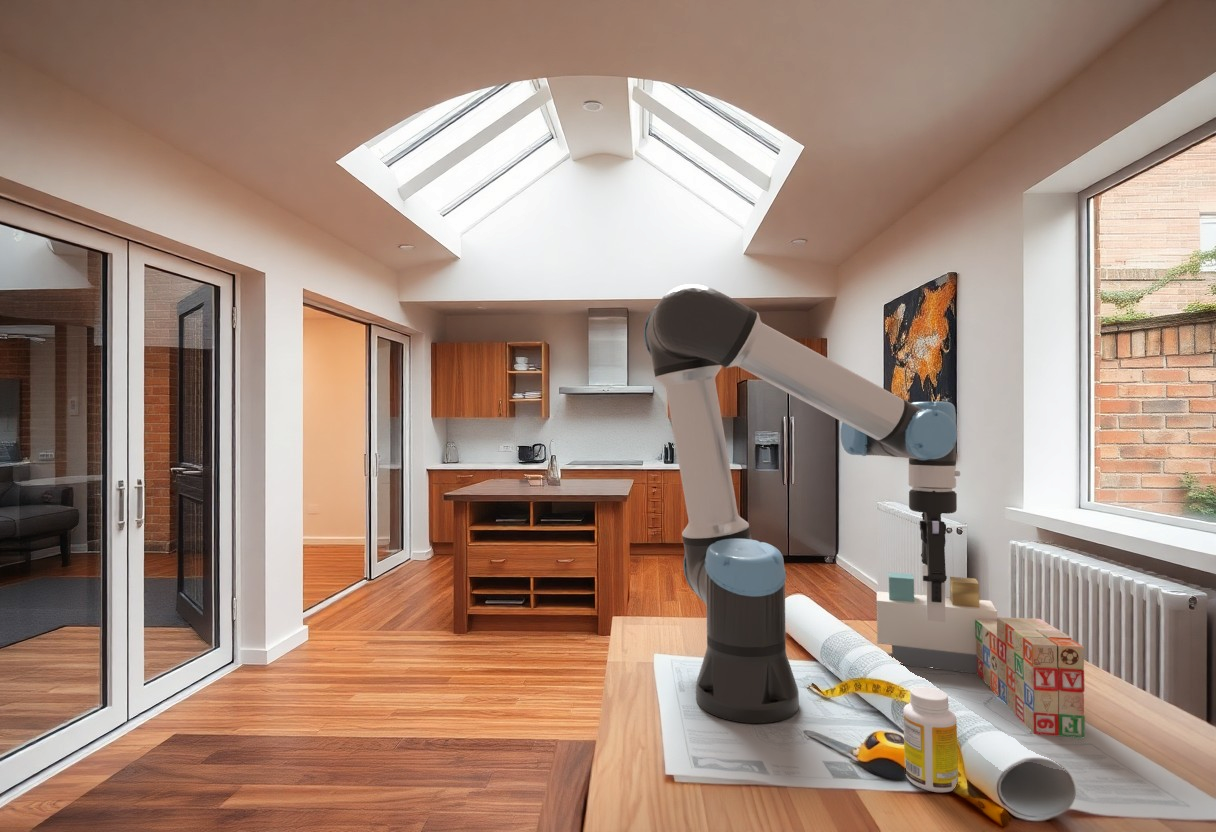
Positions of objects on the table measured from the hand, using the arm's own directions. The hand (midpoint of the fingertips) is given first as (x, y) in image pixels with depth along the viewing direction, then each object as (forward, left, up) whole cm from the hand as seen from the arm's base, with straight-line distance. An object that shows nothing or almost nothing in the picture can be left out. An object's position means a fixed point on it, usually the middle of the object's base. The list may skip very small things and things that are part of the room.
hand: (933, 610), depth 113 cm
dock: (0, 0, -9) cm, 9 cm away
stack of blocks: (+11, -14, -9) cm, 20 cm away
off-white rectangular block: (0, 0, -6) cm, 6 cm away
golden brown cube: (+5, 0, +2) cm, 5 cm away
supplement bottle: (-3, -43, -9) cm, 44 cm away
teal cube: (-5, 0, +2) cm, 5 cm away
